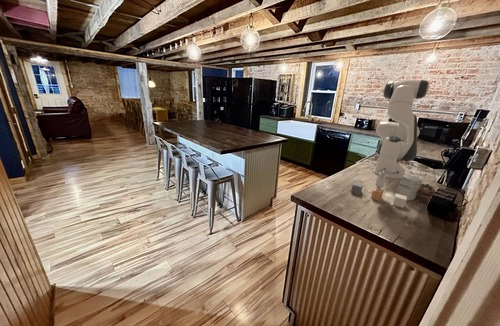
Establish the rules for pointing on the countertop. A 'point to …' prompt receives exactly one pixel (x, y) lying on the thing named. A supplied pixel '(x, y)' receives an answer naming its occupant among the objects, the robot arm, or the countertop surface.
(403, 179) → the supplement box
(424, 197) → the cupcake
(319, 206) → the countertop surface
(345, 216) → the countertop surface
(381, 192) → the terracotta cube
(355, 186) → the charcoal cube
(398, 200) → the offwhite cube
